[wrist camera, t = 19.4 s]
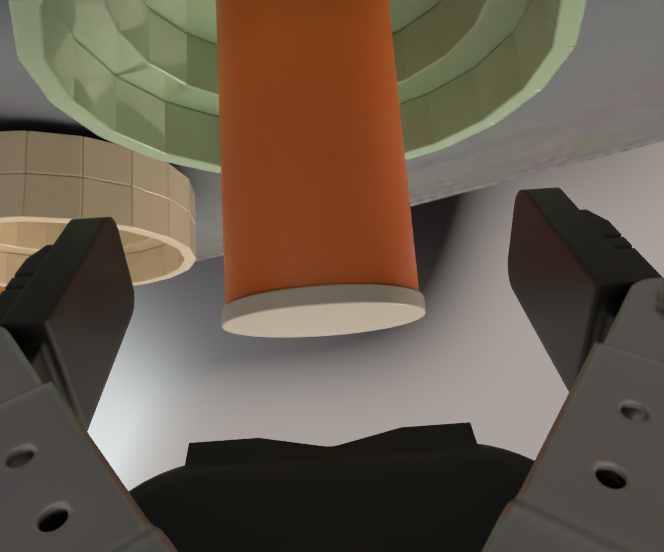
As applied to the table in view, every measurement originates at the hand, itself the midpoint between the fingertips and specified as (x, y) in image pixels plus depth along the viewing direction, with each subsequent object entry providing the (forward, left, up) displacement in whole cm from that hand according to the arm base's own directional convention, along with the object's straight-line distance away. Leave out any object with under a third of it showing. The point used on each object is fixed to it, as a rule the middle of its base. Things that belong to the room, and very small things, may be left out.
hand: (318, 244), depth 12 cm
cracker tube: (+1, -1, -9) cm, 9 cm away
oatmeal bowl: (+1, -21, -9) cm, 23 cm away
